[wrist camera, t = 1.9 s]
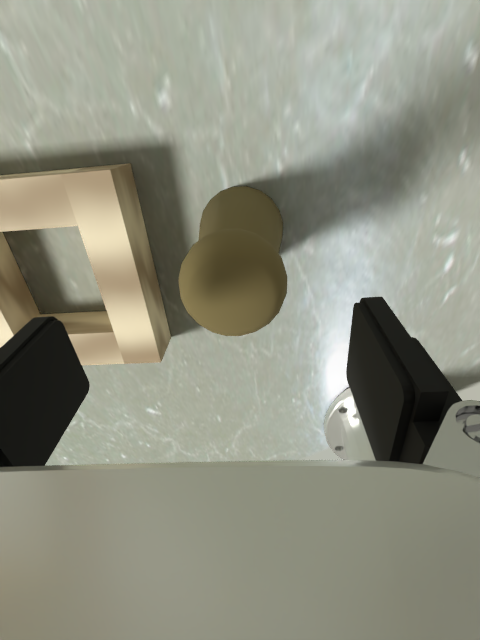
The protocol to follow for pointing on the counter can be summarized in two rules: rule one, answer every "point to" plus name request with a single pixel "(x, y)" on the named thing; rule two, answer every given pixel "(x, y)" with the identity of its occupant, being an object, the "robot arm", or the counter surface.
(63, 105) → the counter surface
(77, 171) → the socket block
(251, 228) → the cork
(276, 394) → the counter surface
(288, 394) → the counter surface
